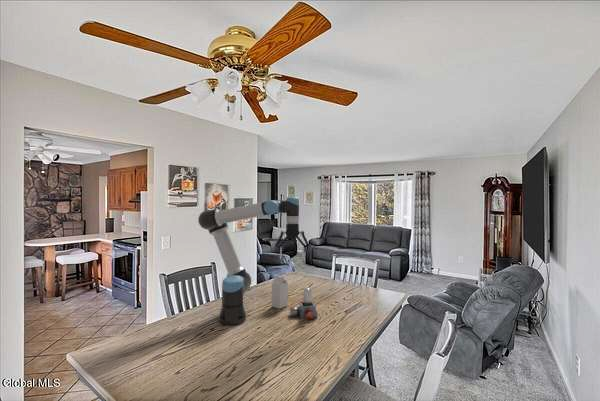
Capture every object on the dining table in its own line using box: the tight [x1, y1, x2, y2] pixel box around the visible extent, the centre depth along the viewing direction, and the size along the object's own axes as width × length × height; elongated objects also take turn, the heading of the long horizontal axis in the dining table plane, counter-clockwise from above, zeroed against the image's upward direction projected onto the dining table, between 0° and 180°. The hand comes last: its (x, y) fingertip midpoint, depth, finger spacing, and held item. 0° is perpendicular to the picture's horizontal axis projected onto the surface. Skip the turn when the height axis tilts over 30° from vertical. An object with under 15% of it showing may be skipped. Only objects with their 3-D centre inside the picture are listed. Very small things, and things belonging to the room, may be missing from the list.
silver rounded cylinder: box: [303, 287, 312, 306], centre depth 169 cm, size 5×5×12 cm
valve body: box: [289, 300, 318, 321], centre depth 167 cm, size 15×12×6 cm
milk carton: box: [271, 275, 288, 310], centre depth 182 cm, size 7×7×19 cm
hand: (292, 258), depth 171 cm, fingers open, 13 cm apart
